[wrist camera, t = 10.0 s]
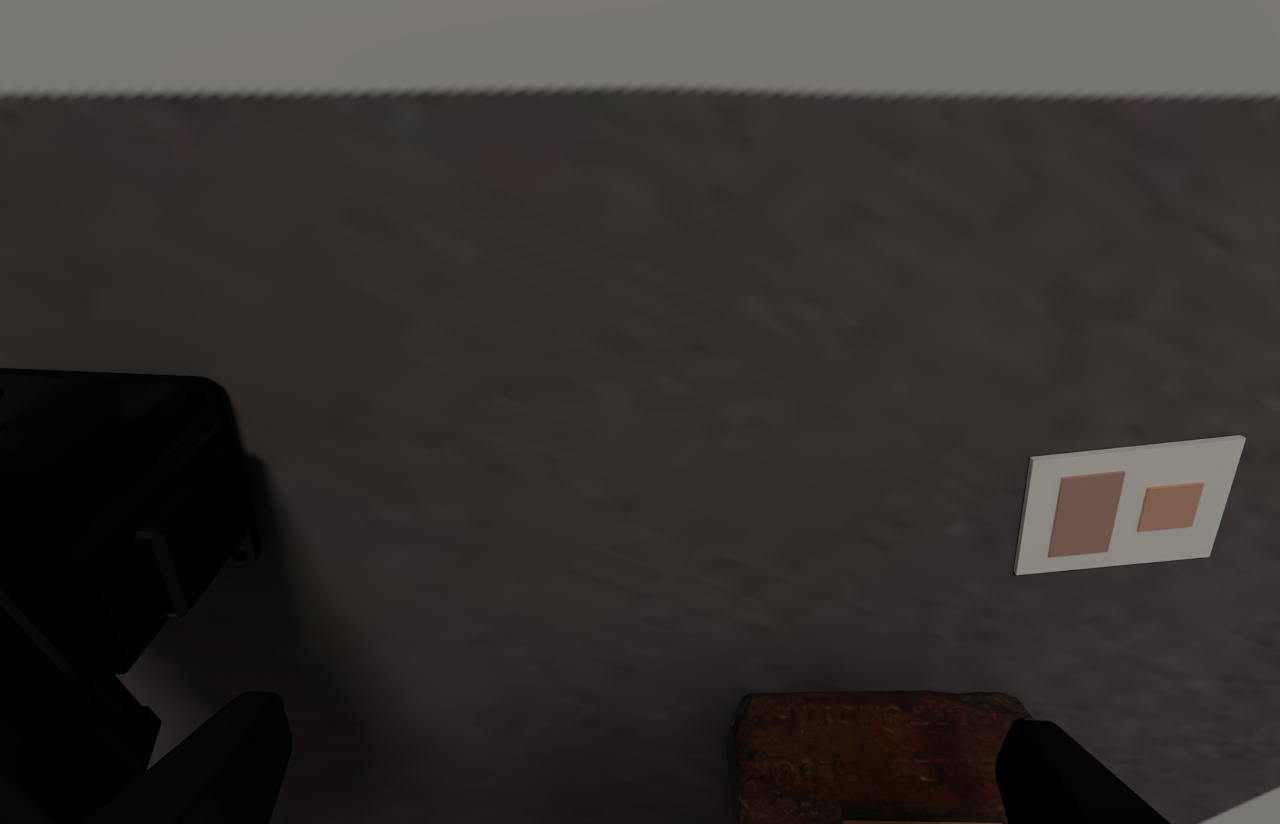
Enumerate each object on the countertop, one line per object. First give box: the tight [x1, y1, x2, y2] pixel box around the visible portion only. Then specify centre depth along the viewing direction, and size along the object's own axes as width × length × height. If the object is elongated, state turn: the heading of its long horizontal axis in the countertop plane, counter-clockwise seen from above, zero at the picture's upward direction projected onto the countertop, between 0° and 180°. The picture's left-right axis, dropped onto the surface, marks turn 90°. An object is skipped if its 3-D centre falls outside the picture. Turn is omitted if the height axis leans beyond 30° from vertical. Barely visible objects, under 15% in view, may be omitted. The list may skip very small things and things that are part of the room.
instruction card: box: [1014, 435, 1246, 575], centre depth 23 cm, size 6×4×1 cm
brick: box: [728, 691, 1033, 824], centre depth 26 cm, size 11×4×5 cm, turn 92°
